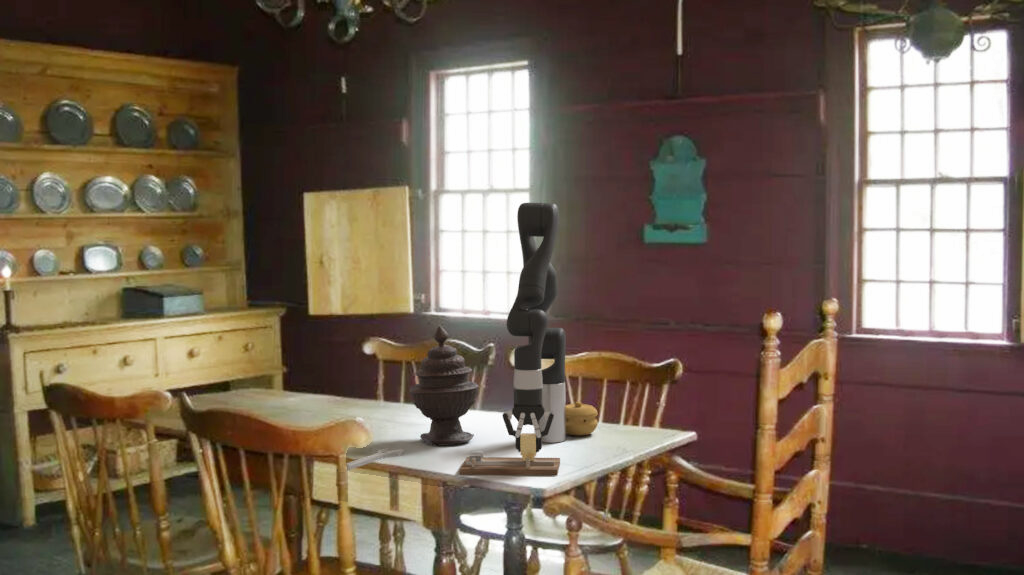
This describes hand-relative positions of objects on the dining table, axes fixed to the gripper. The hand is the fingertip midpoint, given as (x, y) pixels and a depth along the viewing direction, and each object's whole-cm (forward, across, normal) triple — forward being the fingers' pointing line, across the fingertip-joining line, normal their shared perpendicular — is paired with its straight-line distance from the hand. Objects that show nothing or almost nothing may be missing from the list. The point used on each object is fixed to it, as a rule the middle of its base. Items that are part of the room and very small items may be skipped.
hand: (528, 451), depth 288 cm
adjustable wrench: (+5, +44, -8) cm, 45 cm away
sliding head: (+3, 0, 0) cm, 3 cm away
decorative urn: (+5, +28, -35) cm, 45 cm away
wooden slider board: (+5, +5, 0) cm, 7 cm away
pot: (+5, -11, -47) cm, 49 cm away
